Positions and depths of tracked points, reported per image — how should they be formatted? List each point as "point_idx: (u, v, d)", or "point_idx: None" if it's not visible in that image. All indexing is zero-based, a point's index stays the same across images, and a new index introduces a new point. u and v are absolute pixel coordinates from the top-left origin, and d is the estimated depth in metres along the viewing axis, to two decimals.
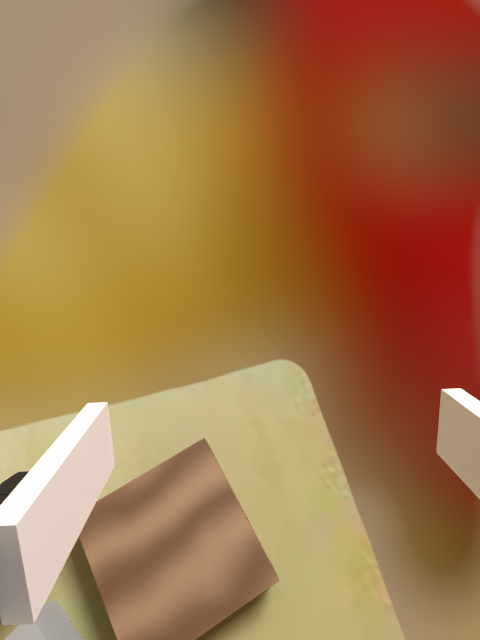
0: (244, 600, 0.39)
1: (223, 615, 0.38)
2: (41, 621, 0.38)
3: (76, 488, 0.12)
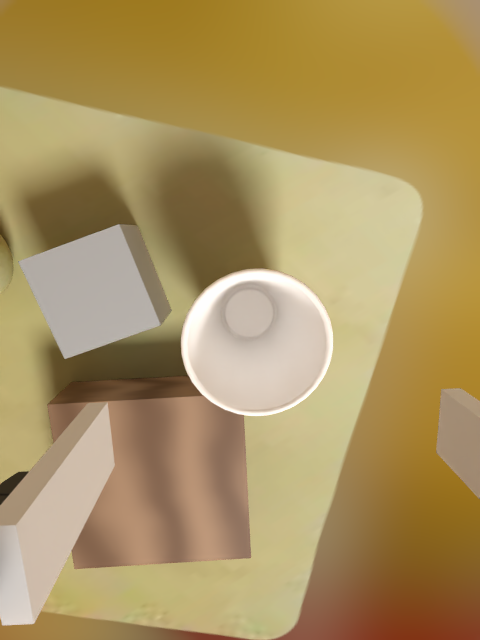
0: None
1: None
2: None
3: (76, 488, 0.12)
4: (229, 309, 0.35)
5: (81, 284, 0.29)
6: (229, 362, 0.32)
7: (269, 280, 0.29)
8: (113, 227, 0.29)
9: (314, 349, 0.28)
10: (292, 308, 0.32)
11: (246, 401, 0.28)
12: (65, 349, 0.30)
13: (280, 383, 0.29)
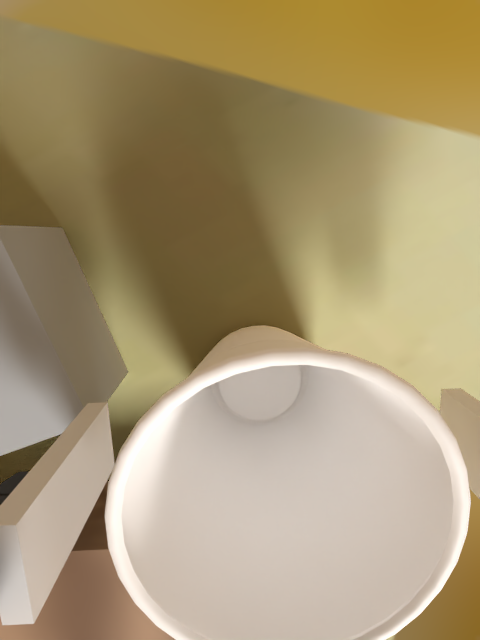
0: None
1: None
2: None
3: (76, 488, 0.12)
4: None
5: None
6: (225, 487, 0.17)
7: None
8: None
9: (404, 501, 0.13)
10: (343, 388, 0.17)
11: (258, 615, 0.13)
12: None
13: (327, 557, 0.14)
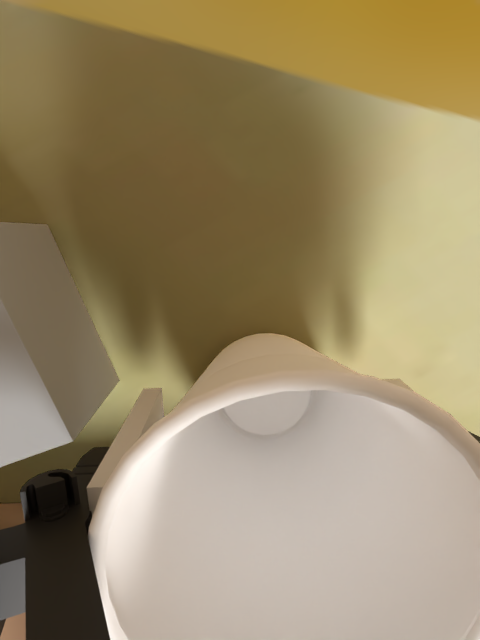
0: None
1: None
2: None
3: None
4: None
5: None
6: (227, 513, 0.16)
7: None
8: None
9: (432, 539, 0.11)
10: (358, 405, 0.15)
11: None
12: None
13: (341, 598, 0.13)
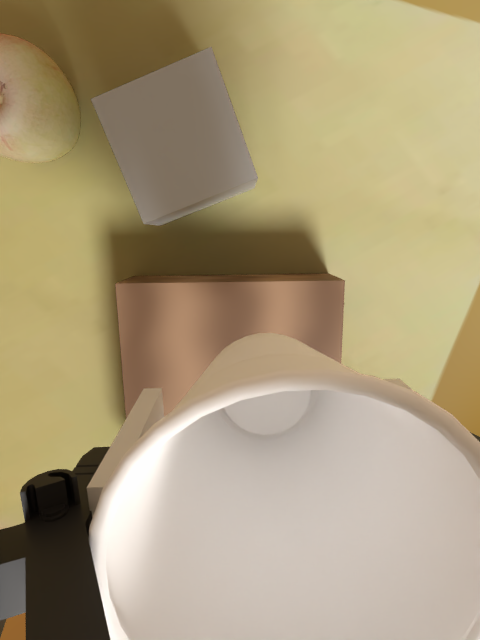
0: None
1: None
2: (240, 186, 0.26)
3: None
4: None
5: (165, 127, 0.25)
6: (228, 513, 0.16)
7: None
8: (204, 51, 0.24)
9: (433, 539, 0.11)
10: (358, 404, 0.15)
11: None
12: (144, 211, 0.26)
13: (342, 598, 0.13)
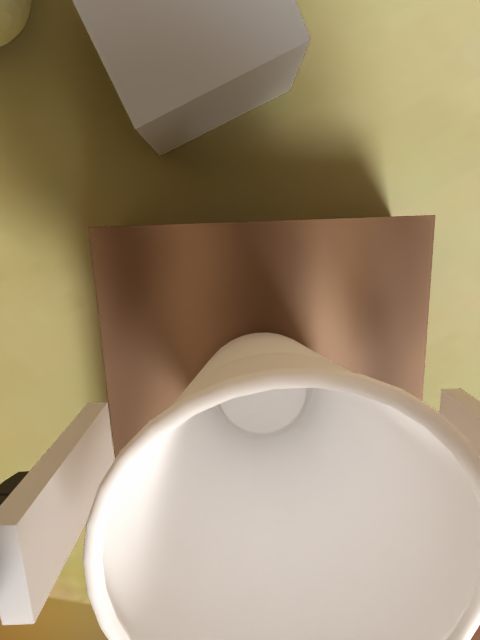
0: None
1: (116, 422, 0.20)
2: (280, 63, 0.17)
3: (76, 488, 0.12)
4: None
5: None
6: (224, 510, 0.16)
7: None
8: None
9: (424, 534, 0.12)
10: (352, 403, 0.16)
11: None
12: (135, 108, 0.16)
13: (336, 592, 0.13)
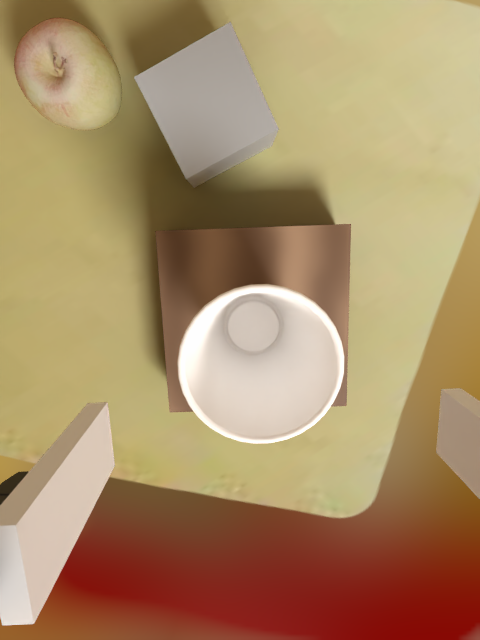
0: (170, 371, 0.35)
1: (167, 345, 0.34)
2: (263, 139, 0.31)
3: (76, 488, 0.12)
4: (232, 322, 0.33)
5: (197, 94, 0.29)
6: (231, 380, 0.30)
7: (275, 294, 0.27)
8: (225, 26, 0.28)
9: (323, 371, 0.26)
10: (299, 323, 0.30)
11: (248, 426, 0.25)
12: (186, 168, 0.30)
13: (285, 406, 0.27)
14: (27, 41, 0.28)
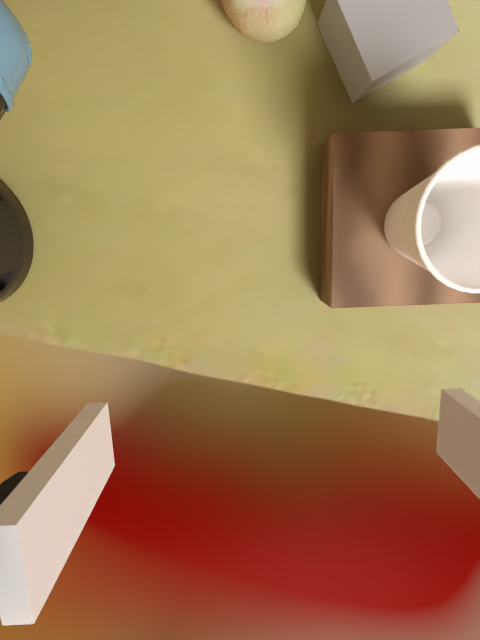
0: (335, 268, 0.38)
1: (335, 243, 0.37)
2: (439, 44, 0.34)
3: (76, 488, 0.12)
4: None
5: (387, 0, 0.32)
6: None
7: (471, 173, 0.30)
8: None
9: None
10: (478, 209, 0.33)
11: (459, 283, 0.29)
12: (373, 71, 0.34)
13: None
14: None
